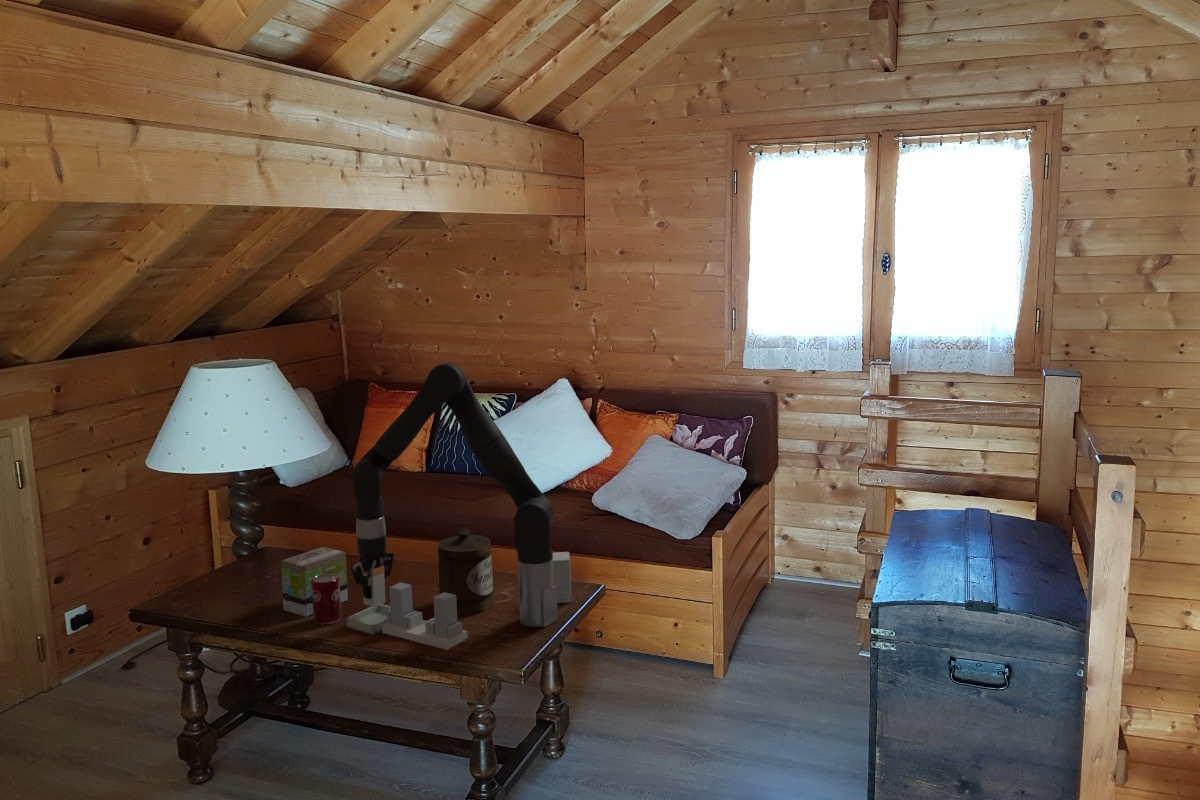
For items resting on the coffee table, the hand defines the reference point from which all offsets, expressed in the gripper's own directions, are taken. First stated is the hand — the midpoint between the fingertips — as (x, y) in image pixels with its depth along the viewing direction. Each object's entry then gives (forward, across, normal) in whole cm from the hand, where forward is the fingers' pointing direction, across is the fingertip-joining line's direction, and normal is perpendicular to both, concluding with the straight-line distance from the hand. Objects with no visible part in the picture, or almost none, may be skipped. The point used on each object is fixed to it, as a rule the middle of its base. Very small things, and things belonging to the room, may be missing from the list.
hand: (374, 595), depth 248 cm
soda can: (+8, -5, +13) cm, 16 cm away
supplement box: (+8, +38, -33) cm, 51 cm away
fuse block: (+8, 0, -17) cm, 19 cm away
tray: (+8, 0, 0) cm, 8 cm away
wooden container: (+8, +22, -13) cm, 27 cm away
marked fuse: (+2, 0, 0) cm, 2 cm away
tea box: (+8, +1, +24) cm, 25 cm away
